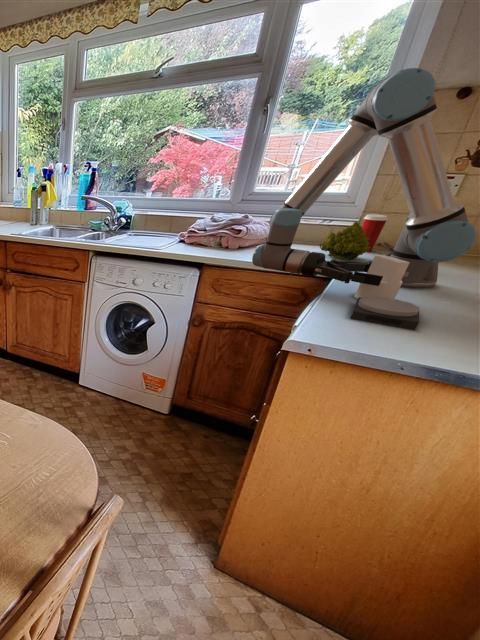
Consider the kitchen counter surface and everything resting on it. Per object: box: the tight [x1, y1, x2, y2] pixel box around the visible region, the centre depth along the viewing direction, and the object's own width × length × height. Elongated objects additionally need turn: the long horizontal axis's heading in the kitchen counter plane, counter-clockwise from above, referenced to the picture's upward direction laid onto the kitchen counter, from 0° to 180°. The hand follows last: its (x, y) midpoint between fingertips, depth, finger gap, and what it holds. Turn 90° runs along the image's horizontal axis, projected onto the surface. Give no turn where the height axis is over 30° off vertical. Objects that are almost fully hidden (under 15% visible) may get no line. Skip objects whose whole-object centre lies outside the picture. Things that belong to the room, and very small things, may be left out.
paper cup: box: [361, 213, 389, 253], centre depth 181 cm, size 8×8×14 cm
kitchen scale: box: [349, 297, 421, 331], centre depth 117 cm, size 15×13×3 cm
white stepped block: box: [354, 254, 410, 300], centre depth 127 cm, size 9×9×12 cm
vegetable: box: [319, 221, 371, 261], centre depth 172 cm, size 15×16×15 cm
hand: (388, 277), depth 126 cm, fingers open, 13 cm apart
